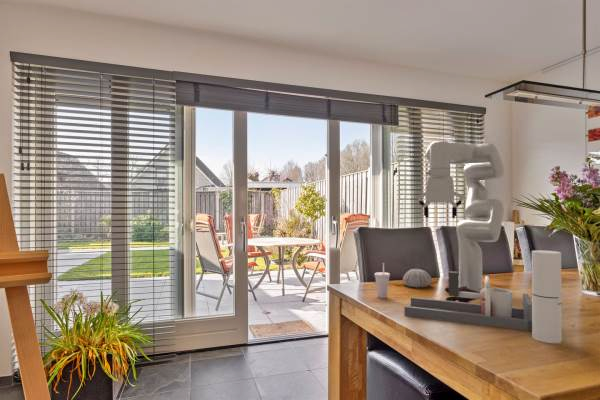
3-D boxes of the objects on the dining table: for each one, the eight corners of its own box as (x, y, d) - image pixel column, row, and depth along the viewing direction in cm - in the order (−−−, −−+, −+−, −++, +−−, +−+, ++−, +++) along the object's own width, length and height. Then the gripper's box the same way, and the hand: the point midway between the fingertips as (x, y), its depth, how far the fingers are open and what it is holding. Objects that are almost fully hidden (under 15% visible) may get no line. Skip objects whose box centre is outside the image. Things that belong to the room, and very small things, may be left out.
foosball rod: (450, 309, 136) (449, 269, 136) (491, 314, 130) (491, 272, 130) (448, 316, 128) (448, 274, 128) (492, 322, 122) (491, 277, 122)
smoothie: (390, 299, 153) (390, 264, 153) (374, 298, 154) (374, 264, 154) (389, 295, 159) (389, 262, 159) (374, 294, 161) (374, 261, 161)
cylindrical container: (526, 334, 112) (525, 250, 112) (549, 334, 112) (548, 250, 112) (544, 343, 104) (543, 253, 105) (568, 342, 105) (567, 253, 105)
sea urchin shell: (398, 287, 175) (398, 269, 175) (406, 281, 187) (406, 265, 187) (428, 290, 169) (428, 272, 169) (434, 284, 180) (434, 267, 180)
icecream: (486, 286, 148) (445, 286, 154) (486, 285, 141) (443, 285, 147) (488, 304, 146) (446, 304, 152) (488, 304, 139) (445, 303, 145)
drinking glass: (511, 325, 120) (511, 293, 120) (488, 321, 124) (488, 291, 124) (513, 319, 126) (513, 290, 126) (491, 316, 129) (491, 287, 129)
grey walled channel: (411, 304, 144) (411, 270, 144) (528, 317, 128) (527, 278, 128) (404, 315, 131) (404, 277, 131) (534, 331, 114) (533, 288, 114)
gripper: (415, 173, 146) (415, 218, 146) (463, 172, 138) (464, 218, 138) (418, 175, 153) (418, 217, 152) (464, 173, 145) (464, 217, 145)
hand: (440, 217), depth 145 cm, fingers open, 9 cm apart
